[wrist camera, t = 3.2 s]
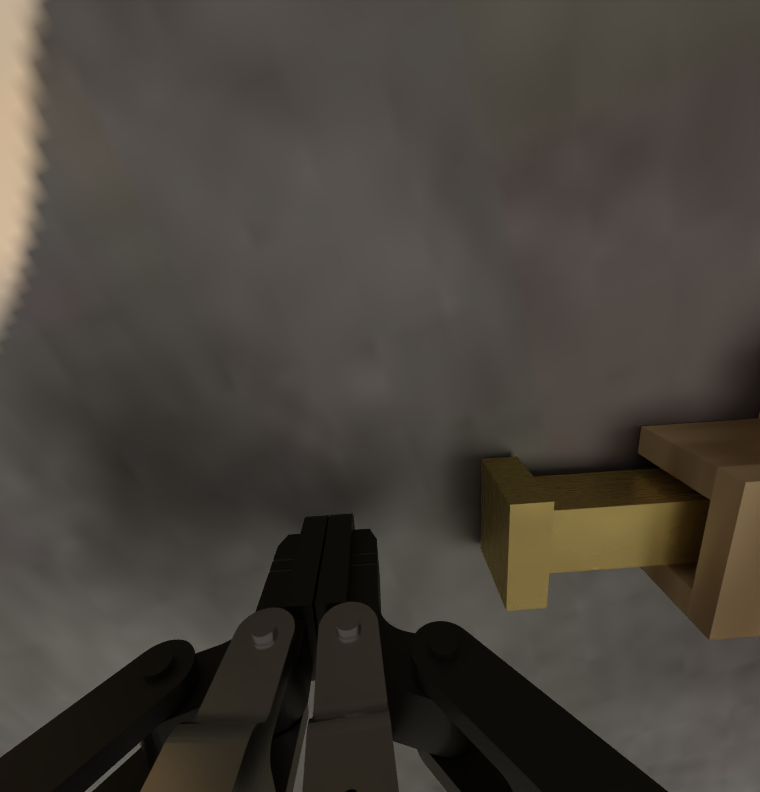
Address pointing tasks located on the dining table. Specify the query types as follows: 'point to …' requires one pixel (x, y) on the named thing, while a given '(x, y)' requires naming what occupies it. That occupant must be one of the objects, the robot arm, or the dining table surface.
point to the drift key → (582, 524)
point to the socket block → (715, 522)
